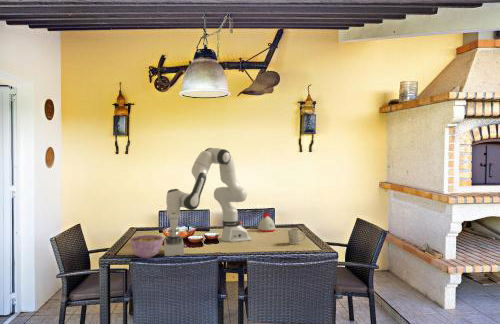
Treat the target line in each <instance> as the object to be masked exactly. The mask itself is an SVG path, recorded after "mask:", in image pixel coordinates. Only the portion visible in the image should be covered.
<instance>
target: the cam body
mask: <svg viewBox="0 0 500 324" xmlns="http://www.w3.org/2000/svg"><path fill="white" fill-rule="evenodd" d="M163 247H164V248H163V249H164V250H163V251H164V257H176V256H175V255H180V256H184V255H185V252H184V250H185V249H184V248H185V243H184V240H183V236H182V235H178V238H175V239H170V238H169V235H168V236H166V237H165V238H164V246H163Z"/></svg>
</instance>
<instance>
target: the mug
mask: <svg viewBox="0 0 500 324" xmlns="http://www.w3.org/2000/svg"><path fill="white" fill-rule="evenodd" d="M300 234H302V235H303V238H302V239H299V238H300V237H299V236H300ZM287 235H288V242H289V243H288V244H290V245H297V244H299V242H303V241H304V240H306V237H307V236H306V234H305V232H303V231H300V228H293V227H292V228H288V229H287Z"/></svg>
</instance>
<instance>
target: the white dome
mask: <svg viewBox="0 0 500 324" xmlns="http://www.w3.org/2000/svg"><path fill="white" fill-rule="evenodd" d="M257 230H258V232H261V233H273V232H275V231H276V226H275V222H274V220H273V219H272V217H270V214H269V213H268V211H266V212H264V214H263V217H262V218H261V220H260V221H259V222H258V228H257Z"/></svg>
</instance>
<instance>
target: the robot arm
mask: <svg viewBox="0 0 500 324" xmlns="http://www.w3.org/2000/svg"><path fill="white" fill-rule="evenodd" d="M213 164H216V165H219V166H218V167H219V175H220V181H221V182H222V183H223V184H225V185H226V186H219V187H216V188H215V189H214V191H213V198H214V200H216V201H217V202H218V204H219V205H220V207H221V210H222V222H221V225H222V231H221V232H222V233H221V238H220V240H221V241H224V242H231V243H236V242H245V241H246V242H247V241H251V240H252V237H251V236H250V235H249V233H248V230H247V229H246V228H244V227H243V226H242V224H243V222H242V221H241V220H239V219H238V218H239V215H238V213H239V212H238V209H237V208H236V207H235V206H234V205H233V203H242V202H245V201H246V199H247V197H248V193H247V190H246V189H245V188H244V187H242V186H241V185H240V183H239V182H238V180H237V177H236V176H237V175H236V170H235V169H236V168H235V163H234V159H233V157H232V155H231V154H230V151H229V150H227V149H224V148H223V149H222V148H220V147H208V148H206V149H204V150H203V151H201V152H200V153H199V154H198V156H197V157H196V159H195V161H194V162H193V165H192V168H191V174H192V176H193V177H194V179H195V181H194V185H193V186H192V187H193V188H192V190H191V192H190V193H187V192H183V191H181V190H180V189H179V188H172V189H169V190H168V191H166V192H167V193H166V198H165V199H166V201H165V202H166V209H165V210H166V217H167V219H168V220H169V224H170V226H169V227H171V230H172V236H175V230H177V227H178V221H179V218H180V217H181V208H185V209H187V210H188V211H195V210H197V208H198V207H199V205H200V201H201V200H200V199H201V195H202V193H203V189H204V187H205V184H206V180H207V177H208V176H207V175H208V173H209V170H210V169H211V165H213Z"/></svg>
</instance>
